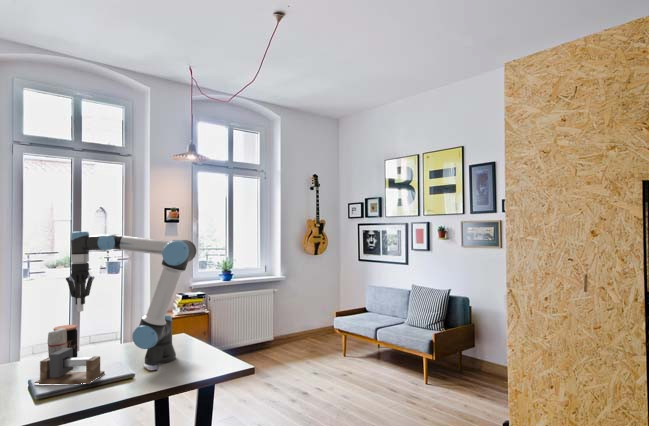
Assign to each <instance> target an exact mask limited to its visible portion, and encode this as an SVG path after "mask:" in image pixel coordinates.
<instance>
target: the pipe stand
mask: <svg viewBox="0 0 649 426" xmlns="http://www.w3.org/2000/svg"><path fill="white" fill-rule="evenodd" d="M93 357H94V358H93V359H91V358H90V359H88V360H86V366H85V370H86V371H69V372H67V373H65V374H64V375H62V376H60V377H50V367H49V360H47V359H49V358H50V357H49V356H48V357H47V358H44V359H42V360H40V361H39V379H38V380H36V381H34V383H39V384H81V383H82V384H83V383H86V384H89V383H90V382H91V381H93V380H95V379H96V378H98V377H100V376H101V377H103V376H104V375H105V370H103V371H102V370H101V356H100V355H95V356H94V355H93ZM103 374H104V375H103ZM102 375H103V376H102ZM101 377H100V378H101ZM98 379H99V378H98ZM96 380H97V379H96ZM96 380H95V381H96ZM93 382H94V381H93ZM90 384H91V383H90ZM90 384H89V385H90Z"/></svg>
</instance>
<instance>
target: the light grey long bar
mask: <svg viewBox="0 0 649 426" xmlns="http://www.w3.org/2000/svg"><path fill="white" fill-rule="evenodd" d="M48 358H49V357H48ZM90 358H91V359H93V358H94V356H90V357H88V356H87V357H77V358H64V359H63V367H67V366H73V367H86V360H88V359H90ZM47 360H49V367H50V358H49V359H47Z"/></svg>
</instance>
